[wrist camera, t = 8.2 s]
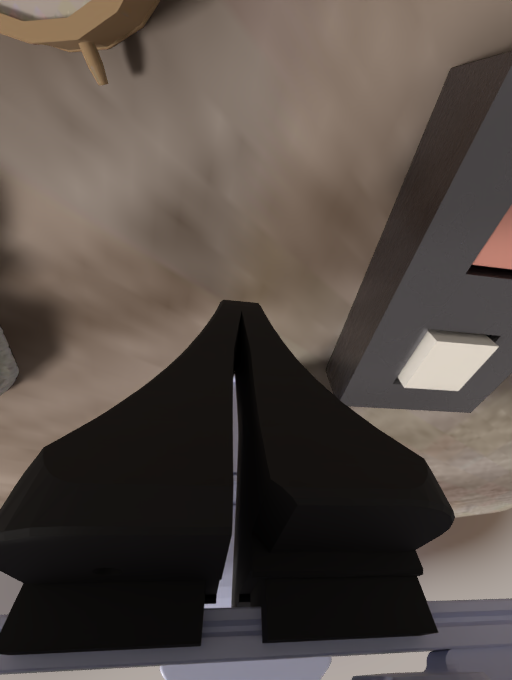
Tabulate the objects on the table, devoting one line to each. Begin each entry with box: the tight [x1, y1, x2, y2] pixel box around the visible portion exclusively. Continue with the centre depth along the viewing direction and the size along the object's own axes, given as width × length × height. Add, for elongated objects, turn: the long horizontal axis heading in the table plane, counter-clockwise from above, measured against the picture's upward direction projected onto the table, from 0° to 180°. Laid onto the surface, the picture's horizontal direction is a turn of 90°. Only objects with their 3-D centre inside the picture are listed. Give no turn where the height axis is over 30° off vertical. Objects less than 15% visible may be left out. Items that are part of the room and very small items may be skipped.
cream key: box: [397, 329, 499, 391], centre depth 20 cm, size 4×4×3 cm
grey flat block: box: [326, 51, 512, 413], centre depth 18 cm, size 20×12×4 cm, turn 172°
